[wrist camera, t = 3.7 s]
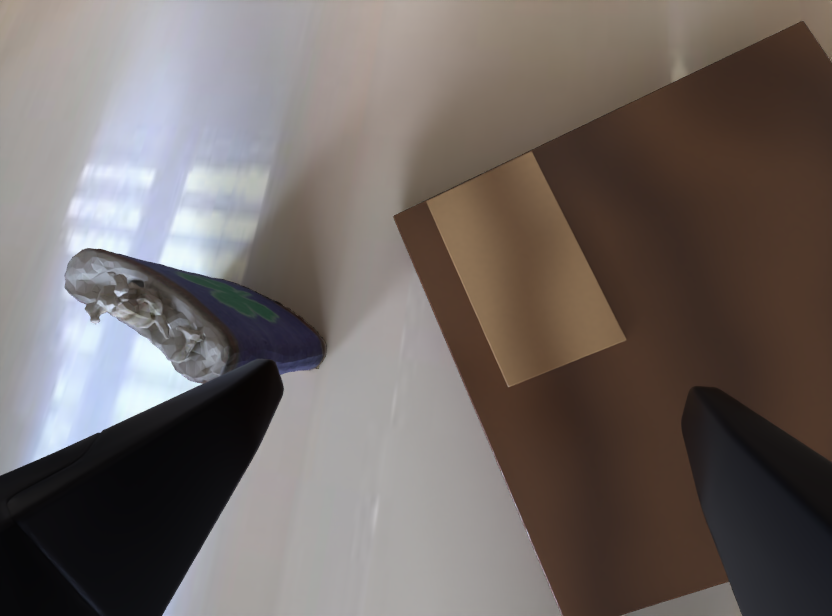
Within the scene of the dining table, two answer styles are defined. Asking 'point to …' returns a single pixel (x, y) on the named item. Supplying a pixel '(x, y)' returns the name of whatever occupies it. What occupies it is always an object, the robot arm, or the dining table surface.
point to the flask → (193, 315)
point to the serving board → (642, 309)
